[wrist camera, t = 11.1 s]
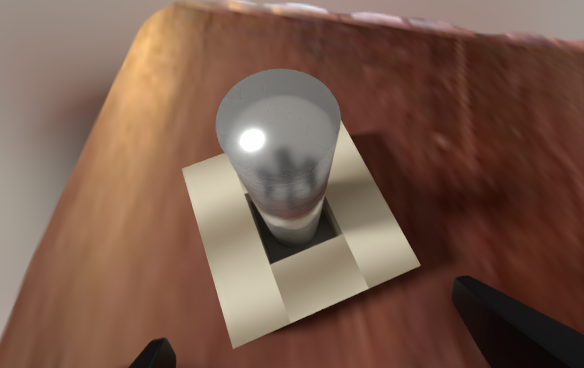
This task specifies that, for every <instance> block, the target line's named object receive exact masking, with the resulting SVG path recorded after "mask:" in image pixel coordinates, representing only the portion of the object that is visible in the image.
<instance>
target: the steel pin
mask: <svg viewBox="0 0 584 368" xmlns="http://www.w3.org/2000/svg"><path fill="white" fill-rule="evenodd" d="M340 124H341V116H340V110H339V107H338V104H337V101H336V99H335V97H334V96H333V94H332V93H331V91H330V90H329V89H328V88H327V87H326V86H325V85H324V84H323V83H322V82H320V81H319V80H318V79H316V78H314V77H313V76H311V75H308V74H306V73H303V72H300V71H296V70H290V69H271V70H266V71H262V72H258V73H255V74H253V75H251V76H248V77H247V78H245V79H243V80H242V81H240V82H239V83H237V84H236V85H235V86H234V87H233V88H232V89H231V90H230V91H229V92H228V93H227V94H226V96H225V97H224V99H223V100H222V102H221V104H220V107H219V109H218V112H217V117H216V132H217V137H218V140H219V143H220V145H221V147H222V149H223V151H224V152H225V154H226V156H227V157H228V159H229V161H230V163H231V164H232V166H233V168H234V169H235V171H236V173H237V175H238V176H239V178H240V180H241V181H242V183H243V185H244V187H245V188H246V190H247V192H248V194H249V195H250V197H251V199H252V200H253V202H254V204H255V206H256V207H257V209H258V211H259V212H260V214H261V216H262V218H263V219H264V221H265V223H266V224H267V226H268V228H269V230H270V231H271V233H272V235H273V236H274V238H275V239H276V240H277V241H278V242H279V243H280V244H282V245H284V246H286V247H291V248H297V247H301V246H304V245H306V244H307V243H309V242H310V241H311V240H312V239H313V237H314V236H315V234H316V231H317V227H318V223H319V218H320V214H321V210H322V205H323V201H324V197H325V192H326V188H327V183H328V179H329V175H330V170H331V166H332V161H333V157H334V153H335V148H336V144H337V140H338V135H339V131H340Z"/></svg>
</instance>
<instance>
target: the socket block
mask: <svg viewBox="0 0 584 368" xmlns="http://www.w3.org/2000/svg"><path fill="white" fill-rule="evenodd" d="M182 171H183V174H184V178H185V181H186V185H187V188H188V192H189V195H190V199H191V202H192V206H193V209H194V213H195V216H196V220H197V223H198V227H199V230H200V234H201V237H202V241H203V244H204V248H205V252H206V255H207V259H208V262H209V266H210V269H211V273H212V276H213V280H214V283H215V287H216V290H217V294H218V297H219V301H220V304H221V308H222V311H223V315H224V318H225V322H226V325H227V329H228V332H229V336H230V339H231V343H232V346H233V349H234V348H236V347H238V346H241V345H243V344H245V343H248V342H250V341H252V340H254V339H257V338H259V337H261V336H263V335H266V334H268V333H270V332H272V331H275V330H277V329H279V328H281V327H284V326H286V325H288V324H290V323H293V322H295V321H297V320H299V319H302V318H304V317H306V316H308V315H311V314H313V313H315V312H317V311H320V310H322V309H324V308H326V307H329V306H331V305H333V304H335V303H338V302H340V301H342V300H344V299H347V298H349V297H351V296H353V295H356V294H358V293H360V292H362V291H365V290H367V289H369V288H371V287H374V286H376V285H378V284H380V283H383V282H385V281H387V280H389V279H392V278H394V277H396V276H398V275H401V274H403V273H405V272H407V271H410V270H412V269H414V268H416V267H419V266H421V265H420V263H419V261H418V259H417V258H416V256H415V254H414V252H413V250H412V249H411V247H410V245H409V243H408V241H407V239H406V238H405V236H404V234H403V232H402V230H401V229H400V227H399V225H398V223H397V221H396V219H395V218H394V216H393V214H392V212H391V210H390V209H389V207H388V205H387V203H386V201H385V199H384V198H383V196H382V194H381V192H380V190H379V189H378V187H377V185H376V183H375V181H374V179H373V178H372V176H371V174H370V172H369V170H368V169H367V167H366V165H365V163H364V161H363V159H362V158H361V156H360V154H359V152H358V150H357V149H356V147H355V145H354V143H353V141H352V139H351V138H350V136H349V134H348V132H347V130H346V129H345V127H344V125H343V123H342V121H341V124H340V131H339V135H338V140H337V144H336V148H335V153H334V157H333V161H332V166H331V170H330V175H329V179H328V183H327V188H326V192H325V197H324V201H323V205H322V210H321V214H320V218H319V223H318V227H317V231H316V234H315V236H314V237H313V239H312V240H311V241H310V242H309V243H307V244H306V245H304V246H301V247H297V248H291V247H286V246H284V245H282V244H280V243H279V242H278V241H277V240H276V239H275V238H274V236H273V235H272V233H271V231H270V230H269V228H268V226H267V224H266V223H265V221H264V219H263V218H262V216H261V214H260V212H259V211H258V209H257V207H256V206H255V204H254V202H253V200H252V199H251V197H250V195H249V194H248V192H247V190H246V188H245V187H244V185H243V183H242V181H241V180H240V178H239V176H238V175H237V173H236V171H235V169H234V168H233V166H232V164H231V163H230V161H229V159H228V157H227V156H226V154H225V153H223V154H221V155H218V156H215V157H213V158H210V159H207V160H204V161H202V162H199V163H196V164H194V165H191V166H188V167H186V168H183V169H182Z"/></svg>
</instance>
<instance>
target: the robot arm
mask: <svg viewBox="0 0 584 368" xmlns="http://www.w3.org/2000/svg"><path fill="white" fill-rule="evenodd" d="M452 301H453V304H454V306H455V307H456V309H457V311H458V313H459V315H460V316H461V318H462V320H463V322H464V323H465V325H466V327H467V329H468V330H469V332H470V334H471V336H472V337H473V339H474V341H475V343H476V344H477V346H478V348H479V350H480V351H481V353H482V354H483V356H484V357H485V359H486V360H487V362H488V363H489V365H490V366H491V368H584V335H583V334H581V333H579V332H577V331H575V330H573V329H571V328H570V327H568V326H566V325H564V324H562V323H560V322H558V321H556V320H554V319H552V318H550V317H548V316H546V315H544V314H542V313H540V312H538V311H536V310H535V309H533V308H531V307H529V306H527V305H525V304H523V303H521V302H519V301H517V300H515V299H513V298H511V297H509V296H507V295H505V294H503V293H502V292H500V291H498V290H496V289H494V288H492V287H490V286H488V285H486V284H484V283H482V282H480V281H478V280H476V279H474V278H472V277H470V276H461V277H456V278H455V279H454V281H453V288H452ZM129 368H176V354H175V352H174V350H173V348H172V346H171V344H170V342H169V341H168V339H167V338H159V339H154V340H152V341H151V342H150V343H149V344H148V345H147V346H146V347H145V348H144V350H143V351H142V352H141V353H140V354H139V356H138V357H137V358H136V359H135V360H134V362H133V363H132V364H131V365H130V366H129Z"/></svg>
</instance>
